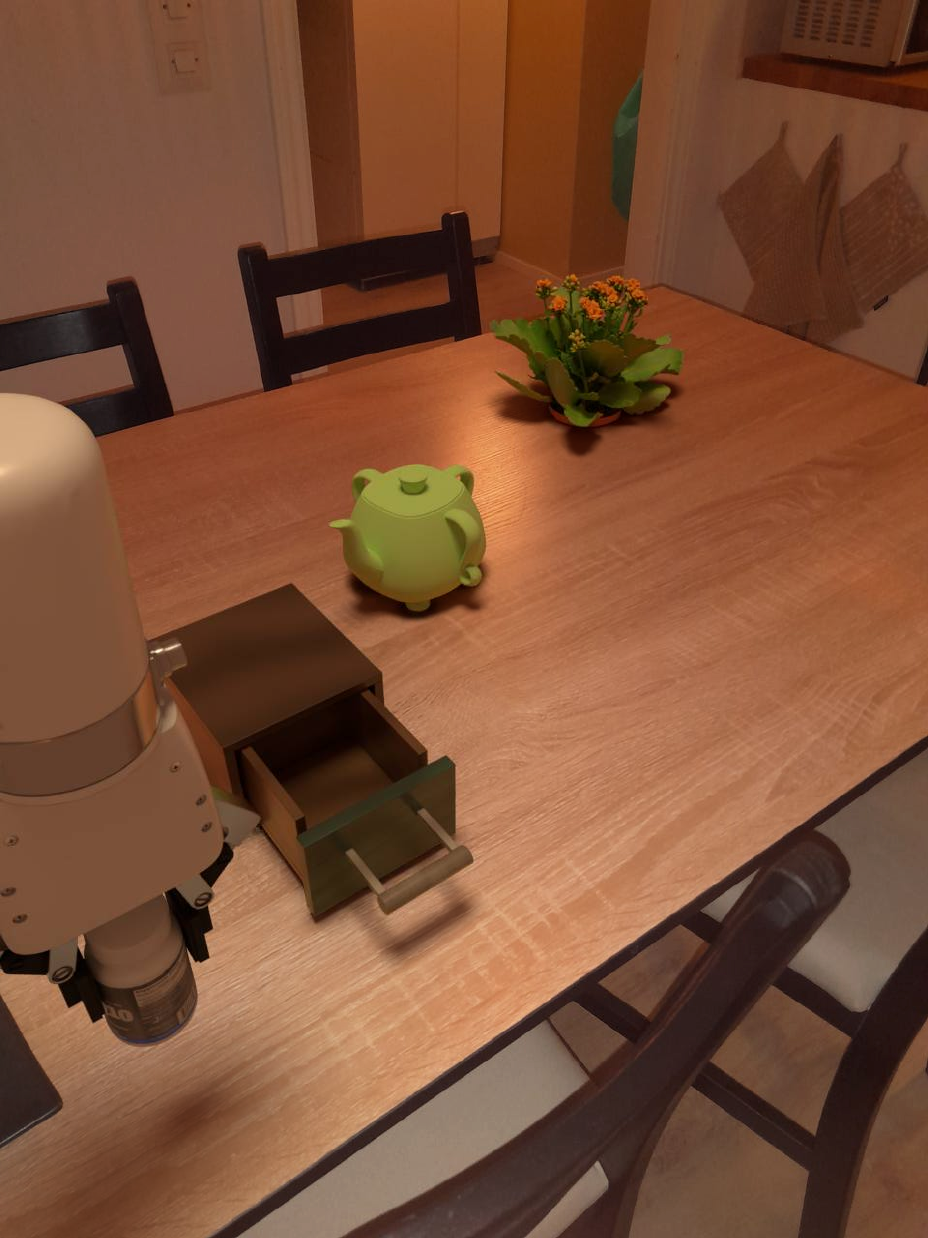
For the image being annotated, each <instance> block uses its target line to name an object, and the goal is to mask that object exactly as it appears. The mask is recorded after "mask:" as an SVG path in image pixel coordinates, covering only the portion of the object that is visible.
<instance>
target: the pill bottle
mask: <svg viewBox="0 0 928 1238" xmlns="http://www.w3.org/2000/svg"><path fill="white" fill-rule="evenodd" d="M82 936H83V939H84V947H83V957H84V960H85V962H86V964H87V966H88V968H89V970H90V972H91V974H92V977H93V980H94V982H95V985H96V988H97V990H98V993H99V996H100V998H101V1001H102V1004H103V1006H104V1009H105V1012H106V1013H105V1014H103V1016H104V1018H105V1021H106V1023H107V1026H108V1027H109V1030H110V1031H111V1033H112V1034H113V1035H114V1037H115V1038H117V1040H119V1041H120V1042H121V1043H123V1044H125V1045H127V1046H131V1047H136V1048H149V1047H156V1046H159V1045H161V1044H163V1043H165V1042H168V1041H169V1040H171V1039H173V1038H174V1037H175V1036H177V1035H179V1034H180V1033H181V1032H182V1031H183V1030H184V1029H185V1028H186V1027H187V1026H188V1025H189V1023H190V1022H191V1021H192V1019H193V1017H194V1015H195V1012H196V1010H197V1007H198V1001H199V1000H198V999H199V998H198V997H199V994H198V989H197V987H198V986H197V983H196V979H195V974H194V970H193V968H192V964H191V960H190V956H189V951H188V949H187V948H186V944H185V939H184V935H183V930H182V927H181V924H180V922H179V921H178V919H177V917H176V916H175V915H174V913H173V912H172V911H170V910H169V908H168V904H167V900H166V897H165V894H164V893H163V894H161V895H159V896H157V897H155V898H153V899H151V900H149V901H147V902H145V903H143V904H141V905H139V906H137V907H136V908H134V909H132V910H130V911H128V912H126V913H124V914H122V915H120V916H118V917H116V918H114V919H112V920H110V921H108V922H106V923H104V924H102V925H100V926H98V927H96V928H94V929H92V930H90V931H88V932H86V933H84V934H82Z"/></svg>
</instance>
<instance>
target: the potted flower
mask: <svg viewBox="0 0 928 1238" xmlns="http://www.w3.org/2000/svg"><path fill="white" fill-rule="evenodd" d="M562 282H563V283H561V286H559V287H558V286H553V287H552V286H551V285H552V281H550V280H549V278H545V279H544V280H543V279H539V280H537V281H536V286H535V287H534V290H535V291H534V293H535V294H534V295H535V297H536V298H537V299H541V300H542V301H543V305H544V310H545V316H544V317H537V318H536V319H533V320H531V322H530V324H529V321H528V320H527V319H524V318H522V317H519V318H516V319H515V321H513V320H512V319H510V318H509V319H507V318H505V319H502V320H501V321H500V323H499V322H498V321H497V320H496V319H493V320H492V321H491V322H489V328H490V331H491V334H493V336H494V338H495V339H496V340H499V341H502V342H505V343H507V344H510V345H512V346H513V347H515V348H517V349H518V350H520V351H521V352H522V353H524V354H525V355H526V359H527V362H529V363H528V368H529V370H531V371H532V373H533V374H534V376H532V375H530V374H527V376H528V377H529V378H531V379H533V380H535V381H542V383H544V384H545V385H546V386H547V390H548V391H549V392H551V395H549V394H544V395H542V394H540V393H538V392H537V391H536V390H533V389H531V388H529V387H528V386H527V385H525V384H523V383H521V382H520V381H518V380H516V379H513V377H510V376H508V375H506V374H504V373H502V372H498V371H497V370H494V373H495V375H497V376H498V377H499V378H501V379H502V380H503V381H505V382H506V383H507V384H509V385H510V386H511V387H512V388H514V389H516V390H517V391H519V392H520V393H522V394H523V395H524V396H526V397H528V398H531V399H533V400H536V401H539V402H544V403H548V410H549V413H550V414H551V415H552V416H553V418H554V419H555V420H556V421H558V422H561V423H562V424H566V425H570V426H573V427H578V428H597V427H600V426H601V427H603V426H605V425H608V424H610V423H612V422H616V421H617V420H618V419H619V417H620V416H621V412H622V411H623V412H625V413H627V414H629V415H630V416H634V414H635V415H643V414H644V413H645V412H647V413H649V412H652V411H654V410H655V408H658V407H660V406H661V404H662V402H665V400H666V398H667V397H669V395H670V394H671V388H670V387H669V386H667V385H665V384H664V383H656V382H654V381H650V380H651V379H652V378H654V377H656V376H658V375H659V374H664V375H665V374H666V375H673V376H679V375H680V372H681V371H682V365H683V362H684V361H683V360H684V351H683V350H681V348H674V347H672V346H668V345H670V344H672V338H671V336H672V334H671V333H667V334H662V335H661V336H659V337H657V338H656V339H653V338H645V337H643V336H641V337H637V334H636V333H634V332H632V331H633V329H634V328H635V327H636V326H637V325H638V323H639V322H638V321H635V320H634V318H639V317H640V316H642V314H643V307H644V306H648V305H649V304H650V303H649V297H648V296H647V295H645V294H644V290H641V289H642V287H641V282H639V280H638V279H635V278H633V277H631V278H630V279H625V280H624V277H622V276H621V275H612V276H611V277H607V278H606V280H605V281H601V280H600V281H599V280H597V281H594V282H592V284H591V285H589V286H587V288H585V287H583V288H582V289H581V292H579V290H580V288H581V287H580V285H581V282H580V281H579V278H578V277H577V276H576V275H575V274H574V273H573V274H571V275H567V276H566V277H565V280H563V281H562ZM605 282H606V283H605ZM623 293H624V297H623V298H622V299H621V295H622V294H623ZM618 294H619V295H618ZM549 297H551V299H552V301H551V303H550V304H549V306H547V301H546V300H547V299H548V298H549ZM623 302H625V304H624V305H622V303H623ZM638 310H639V311H638ZM637 312H638V314H637V315H635V314H636V313H637ZM627 313H629V315H628V317H627V320H626V323H625V325H624V328H623V329H621V326H622V324H623V322H624V320H625V317H626V314H627ZM603 314H605V316H604V317H603ZM551 315H553V316H554V317H551ZM602 318H603V320H604V321H603V320H601V319H602ZM662 346H663V347H664V346H668V347H664V348H663V347H662ZM648 381H650V382H648Z"/></svg>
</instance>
